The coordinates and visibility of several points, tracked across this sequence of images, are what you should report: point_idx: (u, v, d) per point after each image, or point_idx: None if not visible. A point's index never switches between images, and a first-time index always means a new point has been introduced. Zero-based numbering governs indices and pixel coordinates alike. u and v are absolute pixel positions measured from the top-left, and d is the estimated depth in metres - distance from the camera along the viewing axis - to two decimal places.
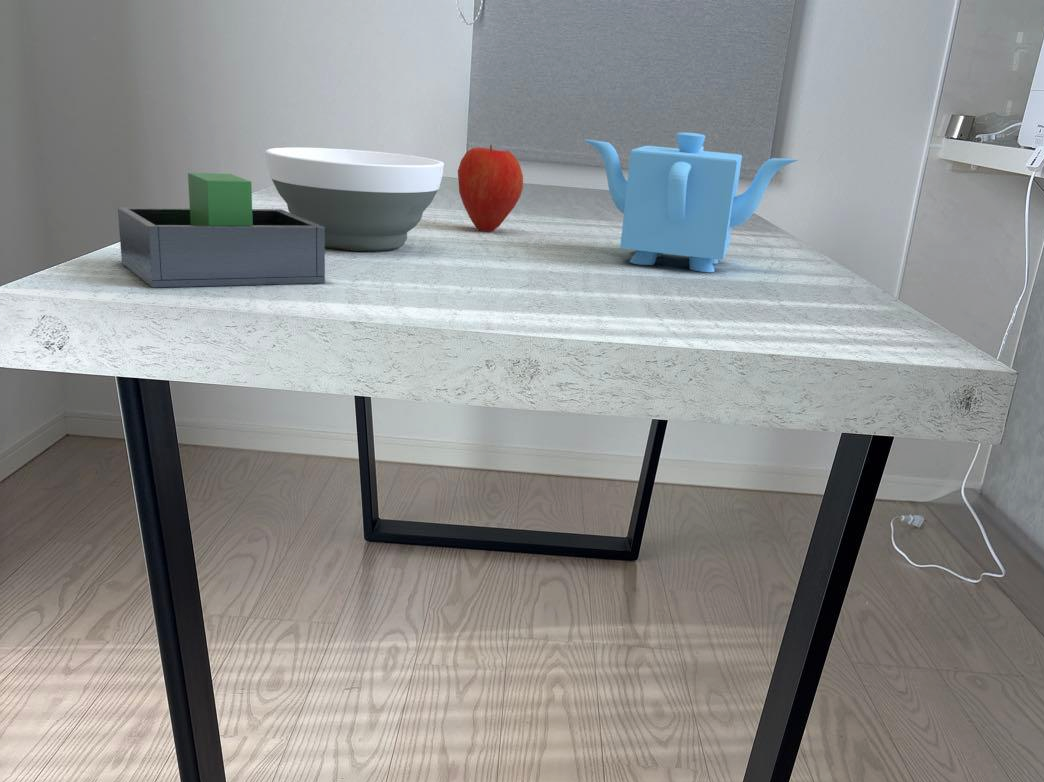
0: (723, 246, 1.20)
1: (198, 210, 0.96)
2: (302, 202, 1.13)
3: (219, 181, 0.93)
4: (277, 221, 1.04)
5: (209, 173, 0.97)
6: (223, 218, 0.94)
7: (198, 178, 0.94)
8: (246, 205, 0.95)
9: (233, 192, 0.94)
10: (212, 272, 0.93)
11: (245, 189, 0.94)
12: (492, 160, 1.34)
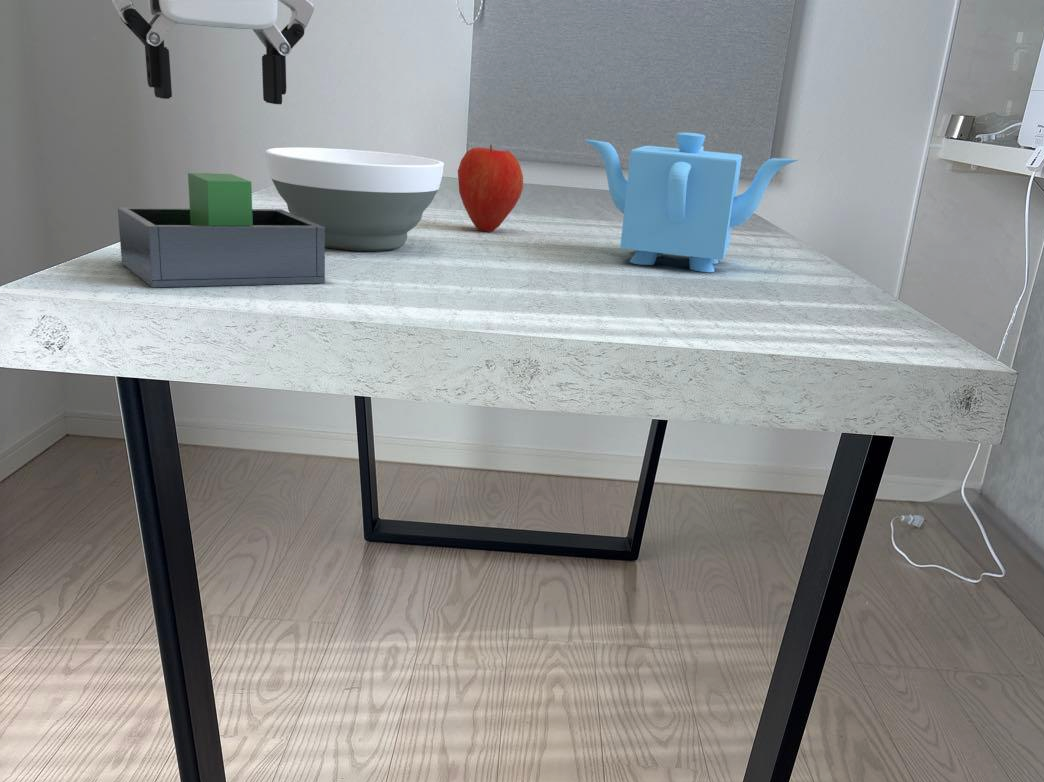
0: (723, 246, 1.20)
1: (198, 210, 0.96)
2: (302, 202, 1.13)
3: (219, 181, 0.93)
4: (277, 221, 1.04)
5: (209, 173, 0.97)
6: (223, 218, 0.94)
7: (198, 178, 0.94)
8: (246, 205, 0.95)
9: (233, 192, 0.94)
10: (212, 272, 0.93)
11: (245, 189, 0.94)
12: (492, 159, 1.34)
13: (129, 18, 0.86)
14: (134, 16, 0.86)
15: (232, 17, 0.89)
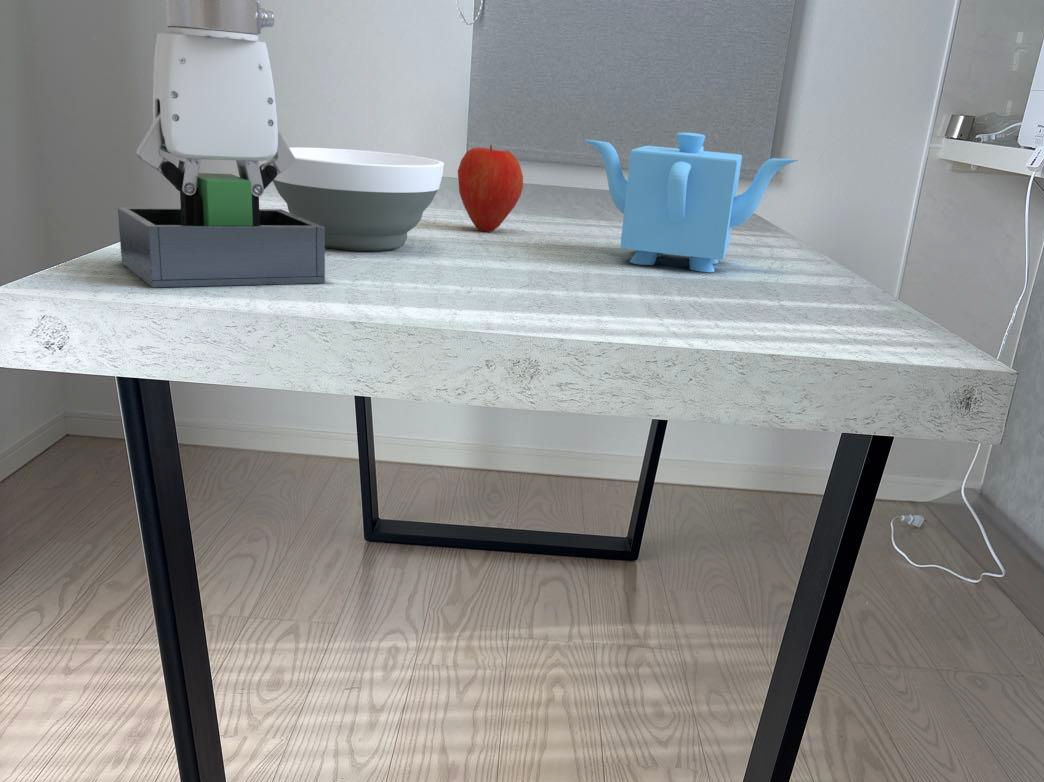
0: (723, 246, 1.20)
1: None
2: (302, 202, 1.13)
3: (219, 181, 0.93)
4: (277, 221, 1.04)
5: (209, 173, 0.97)
6: (223, 218, 0.94)
7: (198, 178, 0.94)
8: (246, 205, 0.95)
9: (232, 192, 0.94)
10: (212, 272, 0.93)
11: (245, 189, 0.94)
12: (492, 160, 1.34)
13: (167, 171, 0.92)
14: (171, 169, 0.92)
15: (234, 151, 0.93)
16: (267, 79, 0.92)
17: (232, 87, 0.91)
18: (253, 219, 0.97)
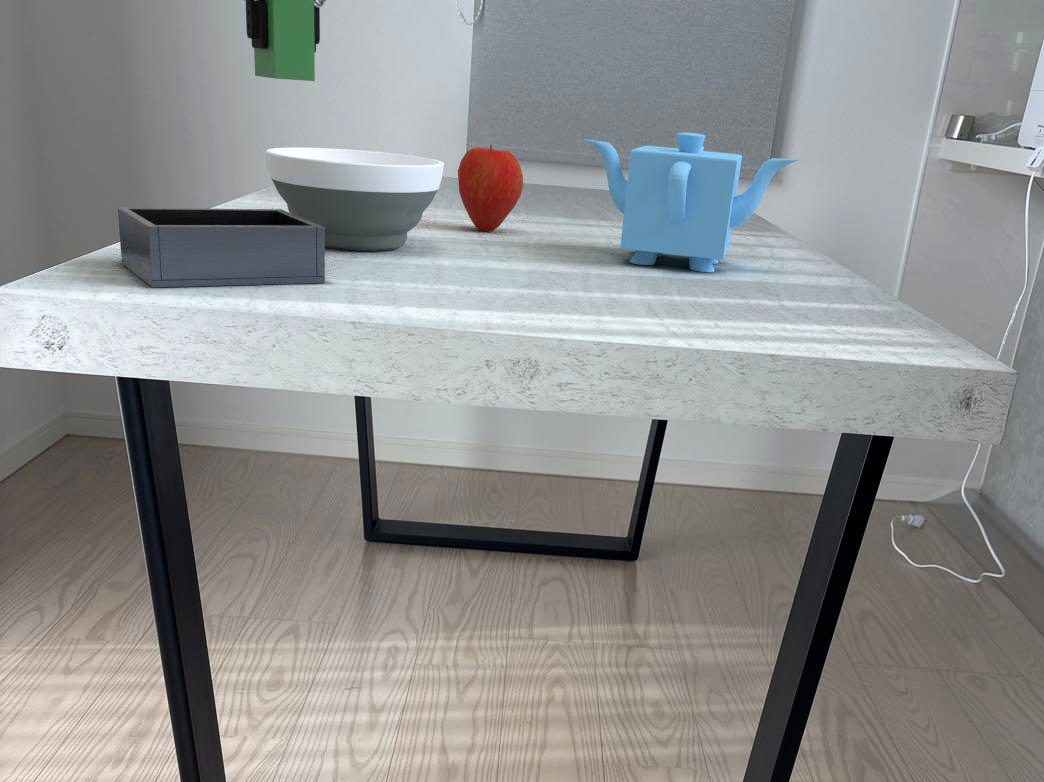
0: (723, 246, 1.20)
1: None
2: (302, 202, 1.13)
3: None
4: (277, 221, 1.04)
5: None
6: (286, 23, 0.99)
7: None
8: (308, 12, 0.99)
9: None
10: (212, 272, 0.93)
11: None
12: (492, 159, 1.34)
13: None
14: None
15: None
16: None
17: None
18: (314, 29, 1.01)
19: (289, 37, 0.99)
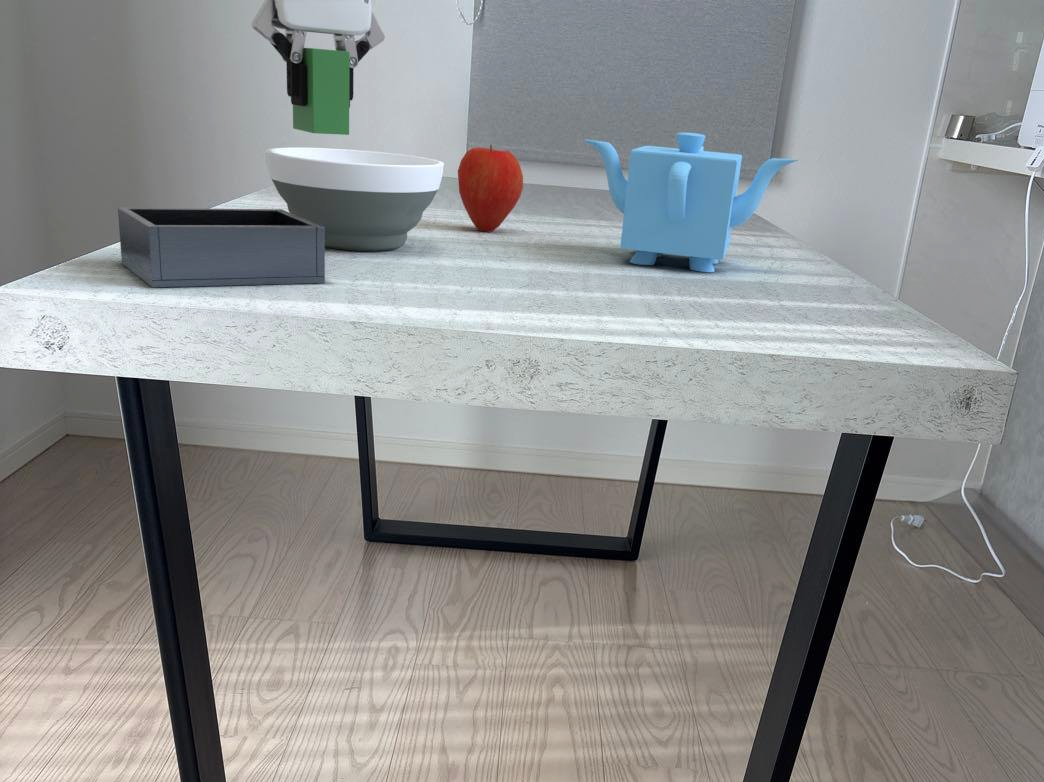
0: (723, 246, 1.20)
1: None
2: (302, 202, 1.13)
3: (323, 50, 1.07)
4: (277, 221, 1.04)
5: None
6: (325, 83, 1.08)
7: None
8: (344, 73, 1.08)
9: (333, 60, 1.07)
10: (212, 272, 0.93)
11: (344, 58, 1.08)
12: (492, 159, 1.34)
13: (278, 40, 1.06)
14: (281, 39, 1.06)
15: (335, 25, 1.07)
16: None
17: None
18: None
19: (327, 96, 1.08)
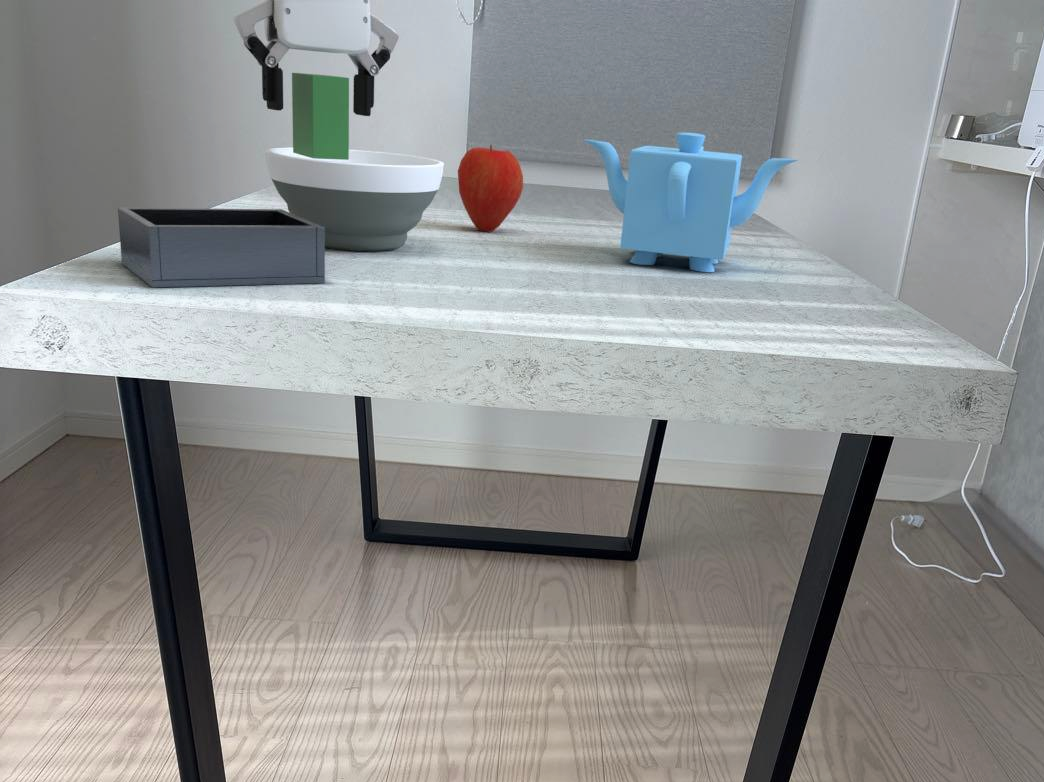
0: (723, 246, 1.20)
1: (302, 104, 1.10)
2: (302, 202, 1.13)
3: (322, 76, 1.07)
4: (277, 221, 1.04)
5: None
6: (324, 109, 1.09)
7: (303, 75, 1.09)
8: (344, 99, 1.09)
9: (333, 87, 1.08)
10: (212, 272, 0.93)
11: (344, 84, 1.09)
12: (492, 160, 1.34)
13: (252, 44, 1.05)
14: (256, 42, 1.05)
15: (334, 44, 1.08)
16: None
17: None
18: (369, 96, 1.12)
19: (327, 122, 1.09)
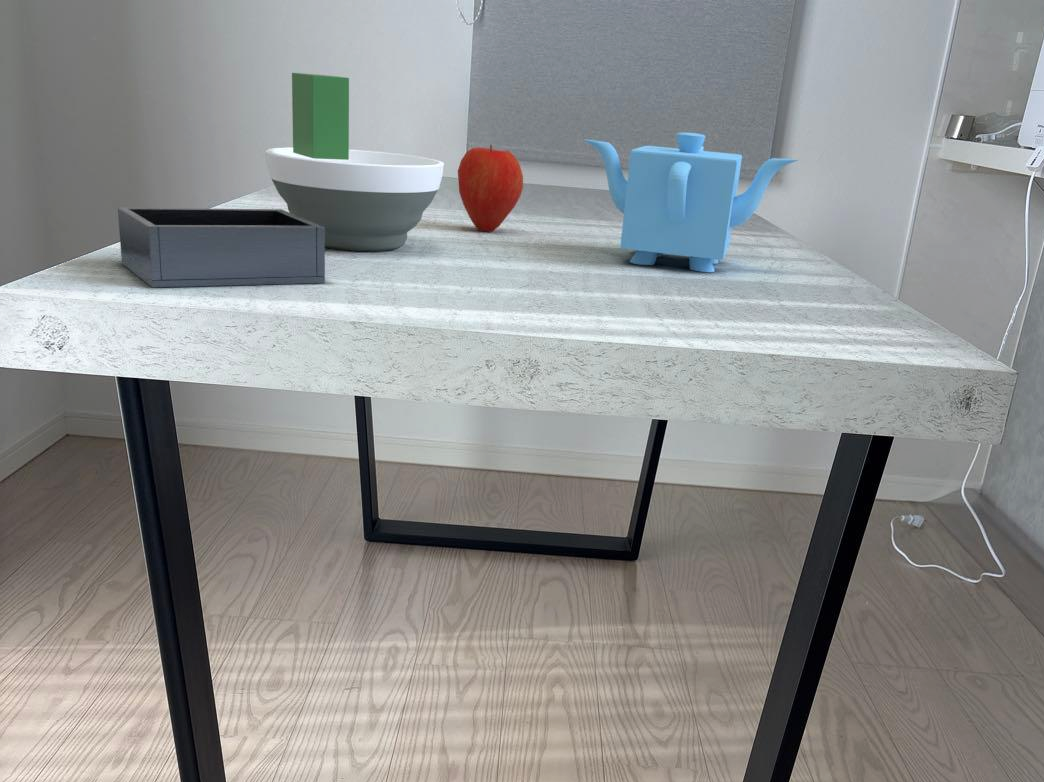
0: (723, 246, 1.20)
1: (302, 104, 1.10)
2: (302, 202, 1.13)
3: (322, 76, 1.07)
4: (277, 221, 1.04)
5: None
6: (324, 109, 1.09)
7: (303, 75, 1.09)
8: (344, 99, 1.09)
9: (333, 87, 1.08)
10: (212, 272, 0.93)
11: (344, 84, 1.09)
12: (492, 160, 1.34)
13: None
14: None
15: None
16: None
17: None
18: None
19: (327, 122, 1.09)
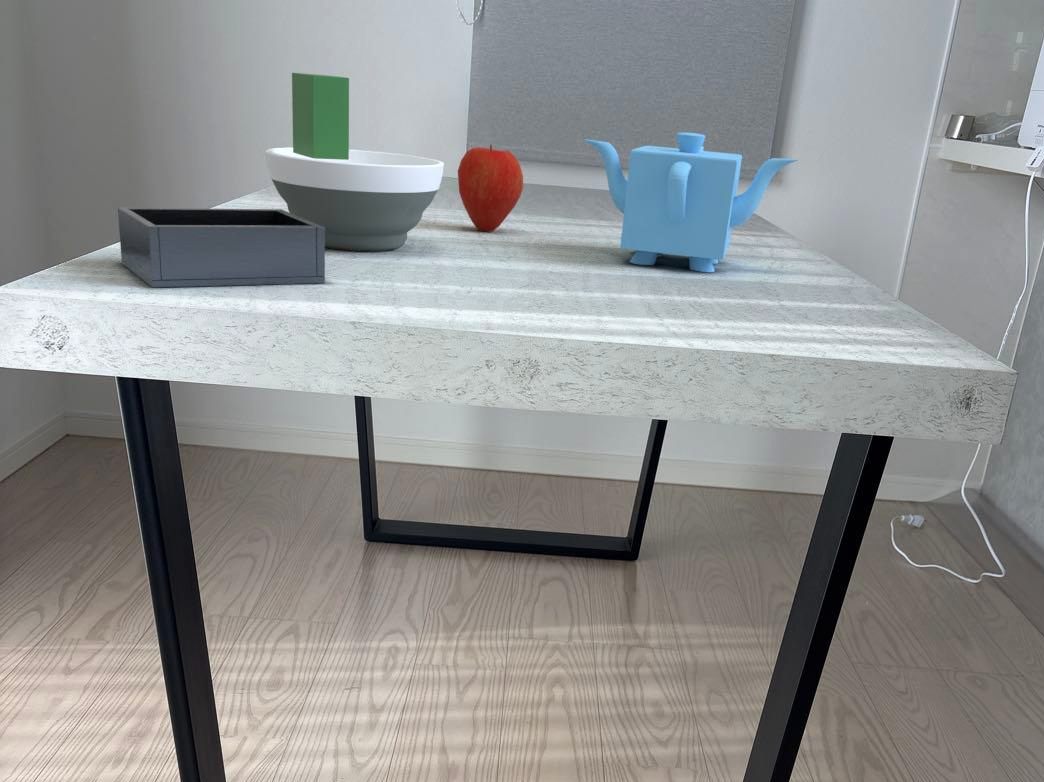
0: (723, 246, 1.20)
1: (302, 104, 1.10)
2: (302, 202, 1.13)
3: (322, 76, 1.07)
4: (277, 221, 1.04)
5: None
6: (324, 109, 1.09)
7: (303, 75, 1.09)
8: (344, 99, 1.09)
9: (333, 87, 1.08)
10: (212, 272, 0.93)
11: (344, 84, 1.09)
12: (492, 159, 1.34)
13: None
14: None
15: None
16: None
17: None
18: None
19: (327, 122, 1.09)
